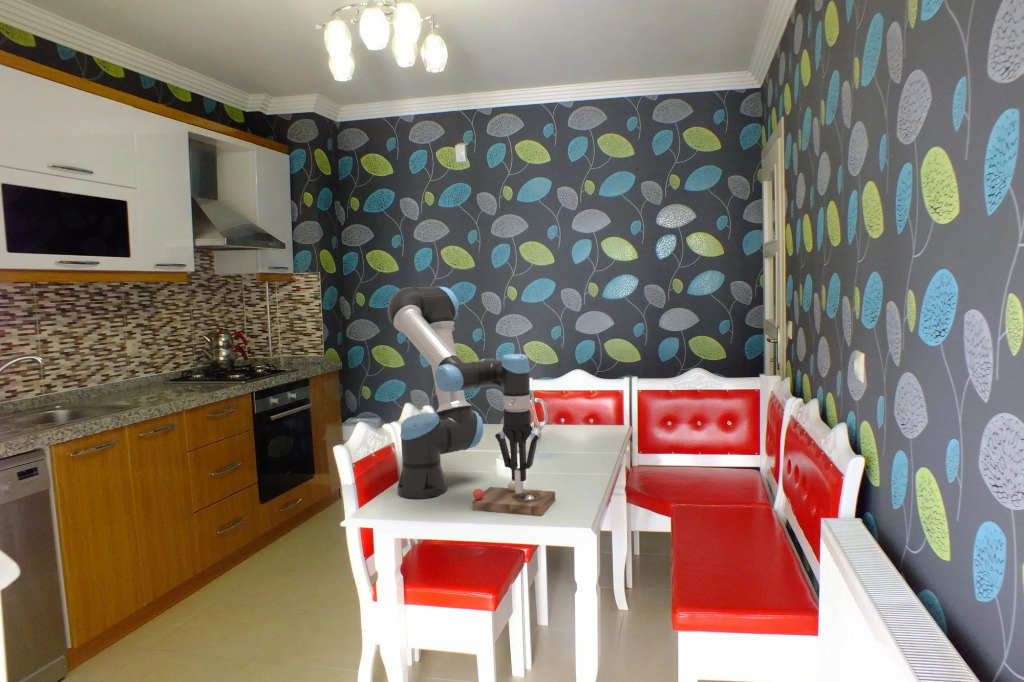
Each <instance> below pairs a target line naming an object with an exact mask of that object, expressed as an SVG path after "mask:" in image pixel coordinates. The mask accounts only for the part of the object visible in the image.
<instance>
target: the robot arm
mask: <svg viewBox="0 0 1024 682" xmlns="http://www.w3.org/2000/svg"><path fill="white" fill-rule="evenodd" d="M459 307H460V306H459V300H458V299H457V296H456V295H455V293H454V292H453V290H451V289H450V288H448V287H446V286H437V285H434V286H419V287H418V286H416V287H415V286H414V287H411V286H408V287H403V288H400V289H399V290H397V291H396V292H395V293H393V294H392V296H391V297H390V299H389V301H388V304H387V315H388V319H389V321H390V323H391V324H392V326H393V327H394V328H395V329H396V331H398V332H399V333H403V334H404V335H405V336H406V338H408V339H409V341H410V343H412V344H413V346H414V347H415V348H416V349H417V350H418V351H419V353H420V354H421V355H422V356H423V357H424V358H425V360H426V361H427V362H428V364H429V365H430V366H431V370H432V371H431V372H432V376H433V381H434V387H435V391H436V396H437V401H438V408H437V409H436V411H435V413H434V412H426V413H425V412H424V413H419V414H415V415H412V416H408V417H407V418H406V419H404V420H403V421H402V422H401V424H400V441H401V444H400V445H401V461H402V462H401V463H402V469H401V473H400V476H399V479H398V484H397V494H398V495H399V496H400V497H402V498H406V499H414V500H415V499H416V500H417V499H430V498H435V497H438V496H442V495H443V494H445V493H447V491H448V482H447V479H446V477H445V474H444V471H443V468H442V466H441V465H442V464H441V455H444V454H445V455H446V454H449V453H455V452H460V451H466V450H469V449H472V448H475V447H477V446H478V445H479V443H481V439H482V438H483V434H484V422H483V419H482V417H481V416H480V413H478V412H477V411H475V410H473V406H472V404H471V403H469V402H468V401H467V400H466V395H465V391H464V390H470V389H477V388H485V387H493V386H495V387H502V398H503V399H502V401H503V402H502V404H503V409H504V411H503V427H502V431H499V432H497V433H496V434H495V435H494V436H495V439H496V440H497V442H498V445H499V448H500V452H501V456H502V460H503V464H504V467H505V468H509V469H510V470H511V481H515V493H519V494H520V493H522V492H523V489H524V482H525V481H526V480H527V470H528V469H530V468H531V467H532V466H533V463H534V458H535V453H536V449H537V445H538V444H537V443H538V442H539V440H540V438H541V434H540V433H536V432H535V431H534V429H533V427H532V424H531V421H532V420H531V417H532V416H531V410H530V408H531V394H530V392H531V391H530V390H531V388H530V384H531V383H530V380H531V379H530V372H531V371H530V370H531V369H530V363H529V357H528V355H527V354H523V353H511V354H510V353H508V354H504V355H502V358H501V359H496V358H490V357H489V358H483V359H480V360H476V361H468V362H466V361H465V362H464V361H463V360H462V359H461V358H460V357H459V356H458V354H457V353H456V351H457V350H456V347H455V343H454V338H453V333H452V329H453V327H454V326H455V320H456V319H457V318H458V315H459V312H458V311H460V310H459ZM529 437H530V440H531V441H530V444H529V449H528V454H527V447H526V446H527V440H528V439H529ZM506 438H507V440H508V441H509V447H508V444H507V440H506ZM509 448H510V451H509ZM518 454H519V455H518ZM518 457H519V460H518ZM518 461H519V462H518ZM518 463H519V465H518Z"/></svg>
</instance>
